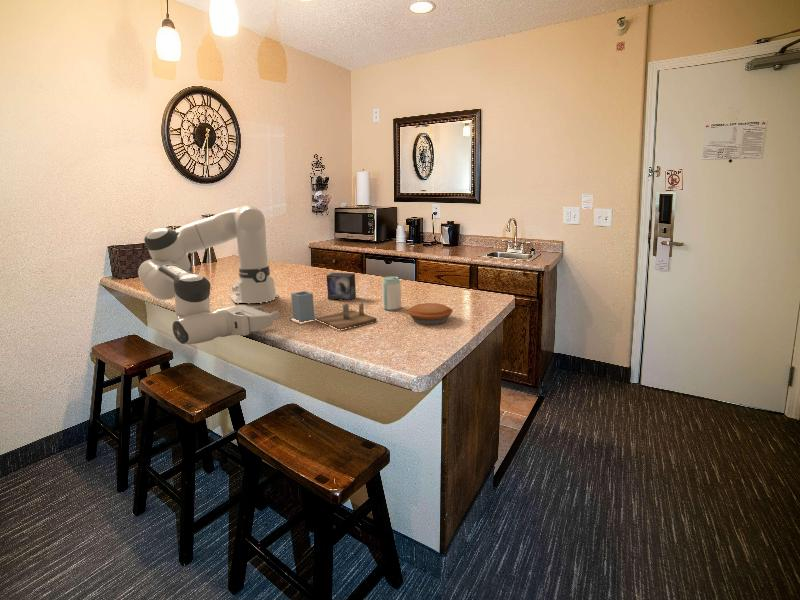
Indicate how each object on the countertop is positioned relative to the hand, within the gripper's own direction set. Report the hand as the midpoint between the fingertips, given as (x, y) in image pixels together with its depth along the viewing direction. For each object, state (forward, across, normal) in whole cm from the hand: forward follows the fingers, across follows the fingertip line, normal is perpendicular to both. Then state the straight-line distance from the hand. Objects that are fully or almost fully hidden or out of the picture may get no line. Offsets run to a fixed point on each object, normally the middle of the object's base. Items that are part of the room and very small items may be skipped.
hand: (271, 311), depth 150 cm
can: (+43, +12, -6) cm, 46 cm away
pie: (+42, +33, -6) cm, 54 cm away
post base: (+21, +13, -6) cm, 26 cm away
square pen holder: (+12, 0, -6) cm, 14 cm away
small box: (+41, -15, -6) cm, 44 cm away
